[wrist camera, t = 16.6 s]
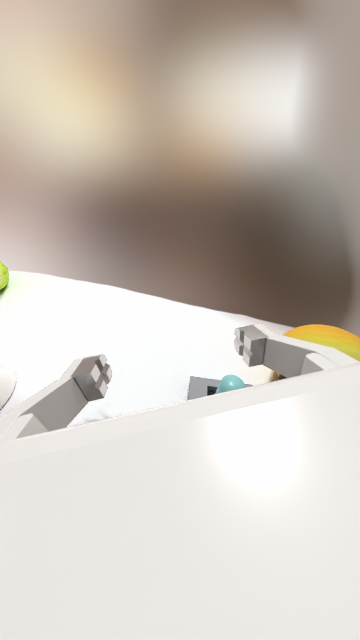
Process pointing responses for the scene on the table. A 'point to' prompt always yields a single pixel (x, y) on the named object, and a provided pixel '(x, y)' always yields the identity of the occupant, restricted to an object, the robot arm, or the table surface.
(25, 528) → the robot arm
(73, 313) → the table surface
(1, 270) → the lettuce
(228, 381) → the teal rounded cylinder
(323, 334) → the emoji
